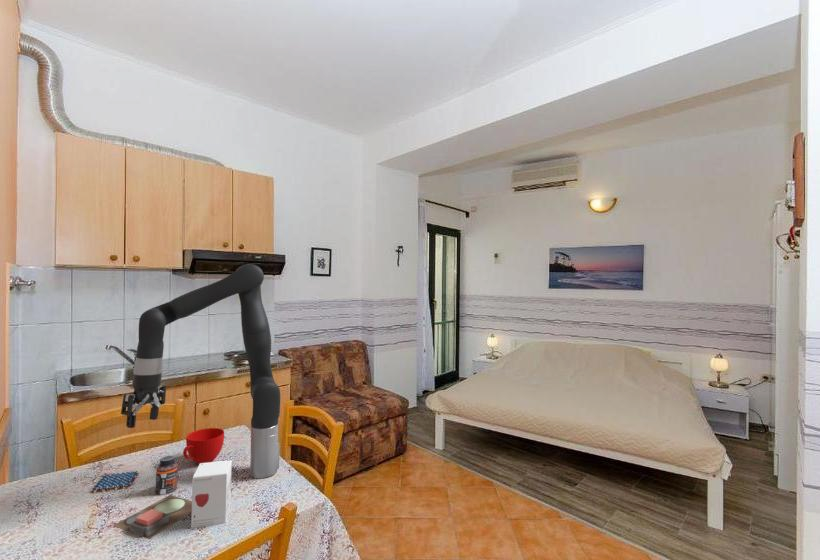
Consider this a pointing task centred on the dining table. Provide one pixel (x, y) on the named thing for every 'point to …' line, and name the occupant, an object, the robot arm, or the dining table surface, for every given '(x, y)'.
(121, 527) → the brown tray
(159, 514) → the button
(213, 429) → the ceramic cup
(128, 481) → the woven mat
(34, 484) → the dining table surface
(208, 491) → the supplement box
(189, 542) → the dining table surface
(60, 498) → the dining table surface
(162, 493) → the supplement bottle
